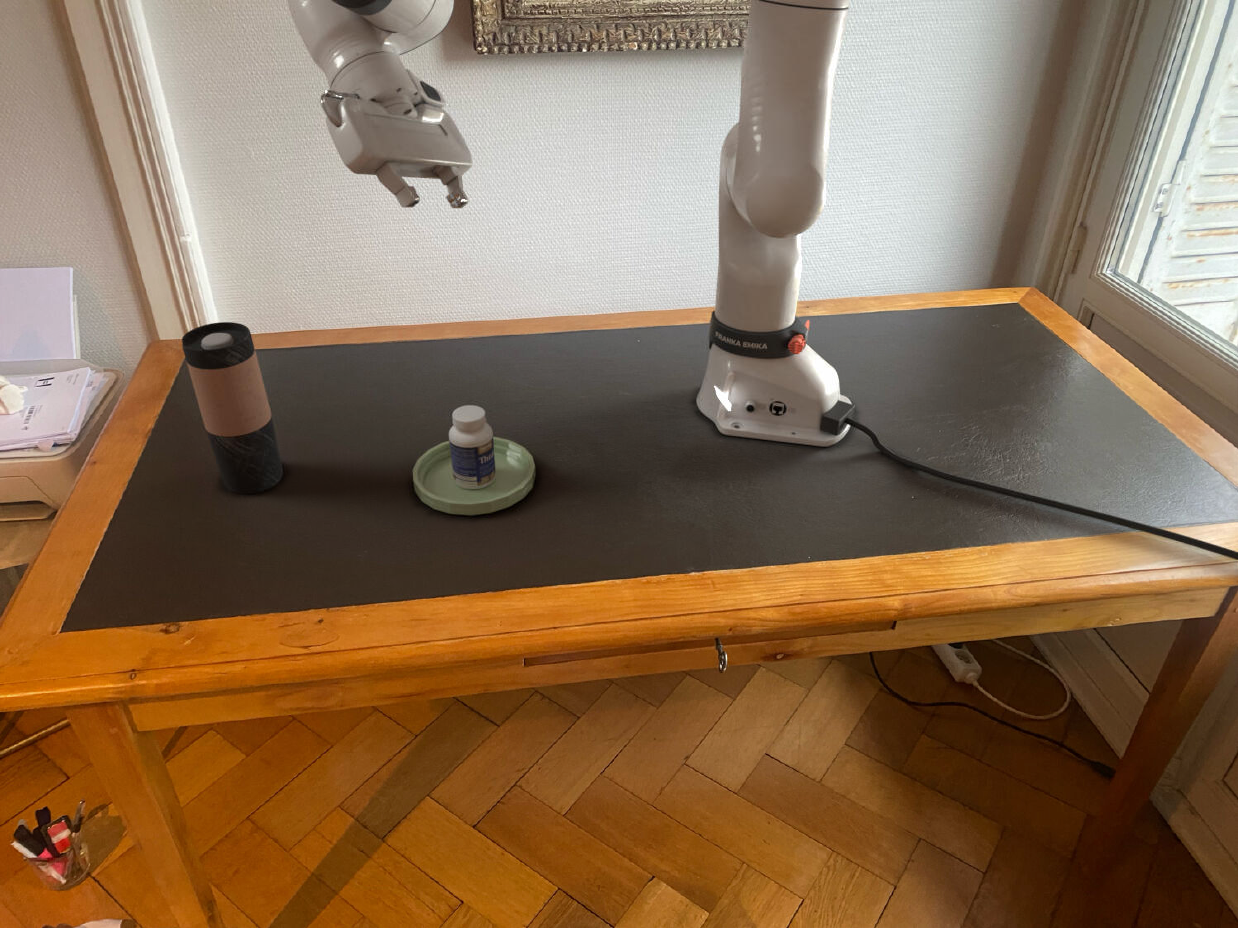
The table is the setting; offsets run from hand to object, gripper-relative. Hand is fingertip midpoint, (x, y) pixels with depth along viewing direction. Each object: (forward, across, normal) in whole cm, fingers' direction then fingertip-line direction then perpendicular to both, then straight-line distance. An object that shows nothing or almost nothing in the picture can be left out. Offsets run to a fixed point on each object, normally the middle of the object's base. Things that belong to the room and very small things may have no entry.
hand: (437, 205), depth 102 cm
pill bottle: (+29, +3, +17) cm, 34 cm away
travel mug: (+15, -9, +38) cm, 42 cm away
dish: (+29, +3, +17) cm, 34 cm away
